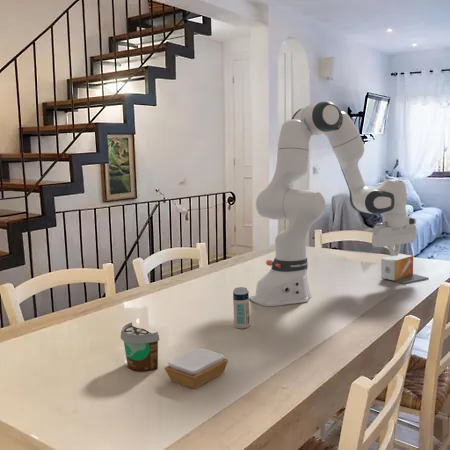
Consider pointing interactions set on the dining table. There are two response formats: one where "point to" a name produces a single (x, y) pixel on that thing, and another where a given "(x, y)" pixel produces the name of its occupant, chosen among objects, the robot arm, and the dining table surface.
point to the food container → (140, 348)
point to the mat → (410, 279)
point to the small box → (396, 266)
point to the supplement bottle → (241, 307)
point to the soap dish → (196, 367)
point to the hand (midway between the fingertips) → (394, 255)
